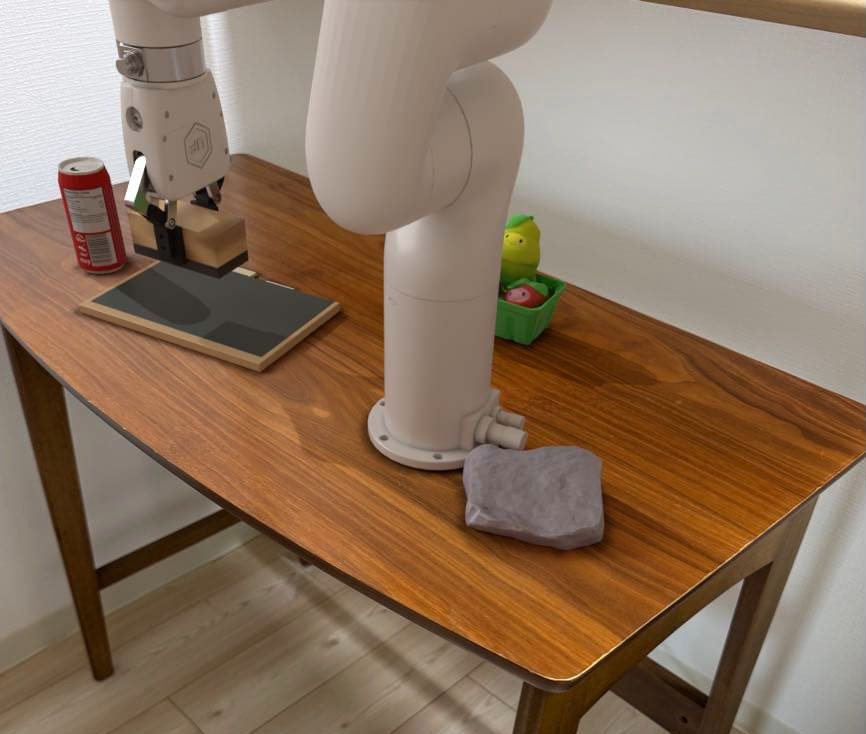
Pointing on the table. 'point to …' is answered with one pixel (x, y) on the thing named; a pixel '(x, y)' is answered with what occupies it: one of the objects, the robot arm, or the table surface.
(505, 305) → the fruit basket
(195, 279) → the chalkboard
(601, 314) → the table surface
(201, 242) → the eraser
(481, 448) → the stone block
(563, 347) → the table surface
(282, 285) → the white chalk stick
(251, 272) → the chalk mark
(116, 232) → the soda can
